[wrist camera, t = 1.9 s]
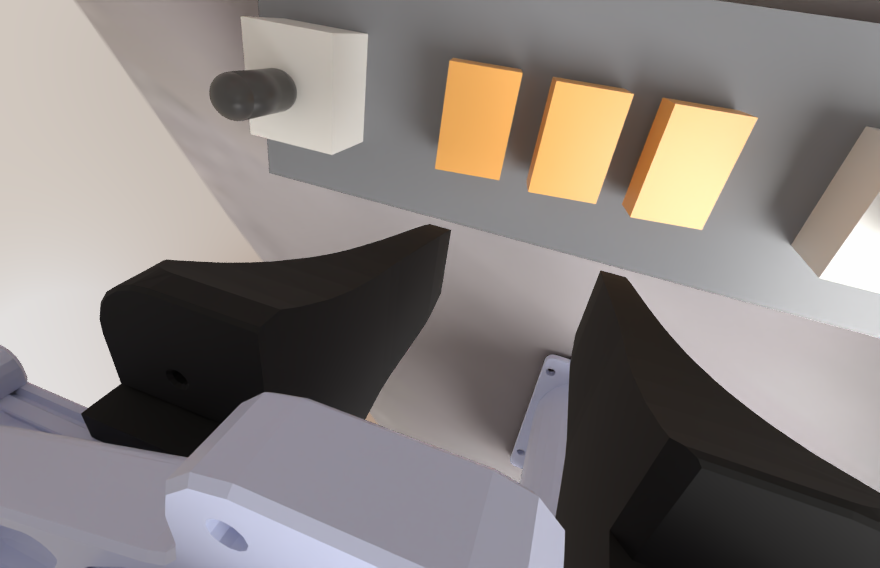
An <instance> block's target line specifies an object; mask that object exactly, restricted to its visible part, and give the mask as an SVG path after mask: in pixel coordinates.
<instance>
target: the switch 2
mask: <svg viewBox="0 0 880 568" xmlns="http://www.w3.org/2000/svg"><path fill="white" fill-rule="evenodd" d="M757 119H758V118H757V117H755V116H752V115H750V114H747V113H745V112H742V111H739V110H734V109H728V108H722V107H716V106H710V105H704V104H698V103H692V102H687V101H681V100H675V99H669V98H662V101H661V103H660V106H659V109H658V111H657V114H656V116H655V119H654V122H653V124H652V127H651V129H650V132H649V135H648V137H647V140H646V143H645V145H644V148H643V150H642V153H641V156H640V158H639V161H638V163H637V166H636V169H635V171H634V174H633V177H632V179H631V182H630V184H629V187H628V190H627V192H626V195H625V198H624V200H623V203H622V205H623V207H624V208H625V210H626V211H627V213H628V215H629V216H630V217H632V218H638V219H643V220H649V221H654V222H660V223H666V224H671V225H677V226H683V227H688V228H694V229H699V230H702V229H703V227H704V225H705V223H706V221H707V219H708V217H709V215H710V213H711V211H712V209H713V207H714V205H715V203H716V201H717V199H718V197H719V195H720V193H721V191H722V189H723V187H724V185H725V183H726V181H727V179H728V177H729V175H730V173H731V171H732V169H733V167H734V165H735V163H736V161H737V159H738V157H739V155H740V153H741V151H742V149H743V147H744V145H745V143H746V141H747V139H748V137H749V135H750V133H751V131H752V129H753V127H754V125H755V123H756V121H757Z"/></svg>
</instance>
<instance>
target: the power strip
mask: <svg viewBox="0 0 880 568" xmlns="http://www.w3.org/2000/svg"><path fill="white" fill-rule="evenodd" d="M258 9H259V17H268V18H285V19H290V20H296V21H301V22H307V23H312V24H317V25H323V26H328V27H334V28H339V29H344V30H350V31H355V32H361V33H366V34H368V47H367V68H366V89H365V110H364V132H363V142H361V143H359V144H357V145H354V146H352V147H350V148H347V149H345V150H342V151H340V152H338V153H335V154H333V155H330V154H326V153H322V152H318V151H314V150H310V149H306V148H303V147H299V146H295V145H291V144H287V143H283V142H279V141H275V140H271V139H267V144H268V160H269V173H271V174H275V175H279V176H282V177H286V178H290V179H294V180H297V181H301V182H305V183H308V184H312V185H316V186H319V187H323V188H327V189H330V190H334V191H338V192H341V193H345V194H349V195H352V196H356V197H360V198H364V199H367V200H371V201H375V202H378V203H382V204H386V205H389V206H393V207H397V208H400V209H404V210H408V211H411V212H415V213H419V214H422V215H426V216H430V217H434V218H437V219H441V220H445V221H448V222H452V223H456V224H459V225H463V226H467V227H470V228H474V229H478V230H481V231H485V232H489V233H492V234H496V235H500V236H504V237H507V238H511V239H515V240H518V241H522V242H526V243H529V244H533V245H537V246H540V247H544V248H548V249H551V250H555V251H559V252H562V253H566V254H570V255H574V256H577V257H581V258H585V259H588V260H592V261H596V262H599V263H603V264H607V265H610V266H614V267H618V268H621V269H625V270H629V271H632V272H636V273H640V274H644V275H647V276H651V277H655V278H658V279H662V280H666V281H669V282H673V283H677V284H680V285H684V286H688V287H691V288H695V289H699V290H702V291H706V292H710V293H714V294H717V295H721V296H725V297H728V298H732V299H736V300H739V301H743V302H747V303H750V304H754V305H758V306H761V307H765V308H769V309H772V310H776V311H780V312H784V313H787V314H791V315H795V316H798V317H802V318H806V319H809V320H813V321H817V322H820V323H824V324H828V325H831V326H835V327H839V328H842V329H846V330H850V331H854V332H857V333H861V334H865V335H868V336H872V337H876V338H879V339H880V293H876V292H872V291H868V290H864V289H860V288H856V287H852V286H848V285H844V284H840V283H836V282H832V281H828V280H824V279H820V278H818V276H817V275H816V274H815V273H814V272H813V271H812V269H811V268H810V267H809V266H808V265H807V264H806V262H805V261H804V260H803V259H802V258H801V257H800V255H799V254H798V253H797V252H796V251H795V250H794V248H793V247H792V246H791V244H792V243H793V241H794V240H795V238H796V236H797V235H798V233H799V232H800V230H801V228H802V227H803V225H804V224H805V222H806V221H807V219H808V217H809V216H810V214H811V213H812V211H813V209H814V208H815V206H816V205H817V203H818V202H819V200H820V198H821V197H822V195H823V194H824V192H825V190H826V189H827V187H828V186H829V184H830V183H831V181H832V179H833V178H834V176H835V175H836V173H837V171H838V170H839V168H840V167H841V165H842V164H843V162H844V160H845V159H846V157H847V156H848V154H849V152H850V151H851V149H852V148H853V146H854V145H855V143H856V141H857V140H858V138H859V137H860V135H861V133H862V132H863V130H864V129H865V127H866V126H867V127H873V128H878V129H880V23H873V22H866V21H859V20H852V19H845V18H838V17H830V16H823V15H816V14H809V13H802V12H795V11H788V10H781V9H774V8H767V7H760V6H753V5H746V4H739V3H732V2H725V1H718V0H258ZM452 58H458V59H464V60H469V61H475V62H481V63H487V64H493V65H499V66H505V67H511V68H517V69H521V70H522V72H523V74H522V79H521V83H520V88H519V92H518V97H517V102H516V106H515V111H514V115H513V120H512V124H511V129H510V134H509V138H508V143H507V147H506V152H505V157H504V161H503V166H502V170H501V175H500V179H499V180H494V179H489V178H483V177H478V176H472V175H466V174H461V173H455V172H449V171H444V170H438V169H435V164H436V157H437V149H438V142H439V135H440V127H441V120H442V113H443V105H444V98H445V91H446V83H447V76H448V69H449V61H450V60H451V59H452ZM553 77H558V78H564V79H570V80H576V81H582V82H587V83H593V84H599V85H605V86H611V87H617V88H623V89H626V90H628V91H630V92H631V93H633V94H634V96H633V99H632V102H631V105H630V108H629V110H628V113H627V116H626V119H625V122H624V125H623V128H622V130H621V133H620V136H619V139H618V142H617V145H616V148H615V151H614V153H613V156H612V159H611V162H610V165H609V168H608V171H607V174H606V176H605V179H604V182H603V185H602V188H601V191H600V194H599V196H598V199H597V202H596V204H593V203H587V202H582V201H576V200H571V199H565V198H559V197H554V196H548V195H542V194H537V193H531V192H528V189H527V182H526V181H527V177H528V173H529V169H530V165H531V161H532V157H533V153H534V149H535V145H536V141H537V137H538V133H539V129H540V125H541V121H542V117H543V113H544V109H545V105H546V101H547V97H548V93H549V89H550V86H551V82H552V78H553ZM662 98H669V99H675V100H681V101H687V102H692V103H698V104H704V105H710V106H716V107H722V108H728V109H734V110H739V111H742V112H745V113H747V114H750V115H752V116H755V117H757V118H758V119H757V121H756V123H755V125H754V127H753V129H752V131H751V133H750V135H749V137H748V139H747V141H746V143H745V145H744V147H743V149H742V151H741V153H740V155H739V157H738V159H737V161H736V163H735V165H734V167H733V169H732V171H731V173H730V175H729V177H728V179H727V181H726V183H725V185H724V187H723V189H722V191H721V193H720V195H719V197H718V199H717V201H716V203H715V205H714V207H713V209H712V211H711V213H710V215H709V217H708V219H707V221H706V223H705V225H704V227H703V229H702V230H699V229H694V228H688V227H683V226H677V225H671V224H666V223H660V222H654V221H649V220H643V219H638V218H632V217H630V216H629V215H628V213H627V211H626V210H625V208H624V207H623V205H622V203H623V200H624V198H625V195H626V192H627V190H628V187H629V184H630V182H631V179H632V177H633V174H634V171H635V169H636V166H637V163H638V161H639V158H640V156H641V153H642V150H643V148H644V145H645V143H646V140H647V137H648V135H649V132H650V129H651V127H652V124H653V122H654V119H655V116H656V114H657V111H658V109H659V106H660V103H661V101H662Z"/></svg>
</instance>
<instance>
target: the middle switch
mask: <svg viewBox="0 0 880 568" xmlns="http://www.w3.org/2000/svg"><path fill="white" fill-rule="evenodd" d="M633 96H634V94H633V93H631V92H630V91H628V90H626V89H623V88H617V87H611V86H605V85H599V84H593V83H587V82H582V81H576V80H570V79H564V78H558V77H553V78H552V82H551V86H550V89H549V93H548V97H547V101H546V105H545V109H544V113H543V117H542V121H541V125H540V129H539V133H538V137H537V141H536V145H535V149H534V153H533V157H532V161H531V165H530V169H529V173H528V177H527V181H526V182H527V189H528V192H531V193H537V194H542V195H548V196H554V197H559V198H565V199H571V200H576V201H582V202H587V203H593V204H596V202H597V199H598V196H599V194H600V191H601V188H602V185H603V182H604V179H605V176H606V174H607V171H608V168H609V165H610V162H611V159H612V156H613V153H614V151H615V148H616V145H617V142H618V139H619V136H620V133H621V130H622V128H623V125H624V122H625V119H626V116H627V113H628V110H629V108H630V105H631V102H632V99H633Z"/></svg>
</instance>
